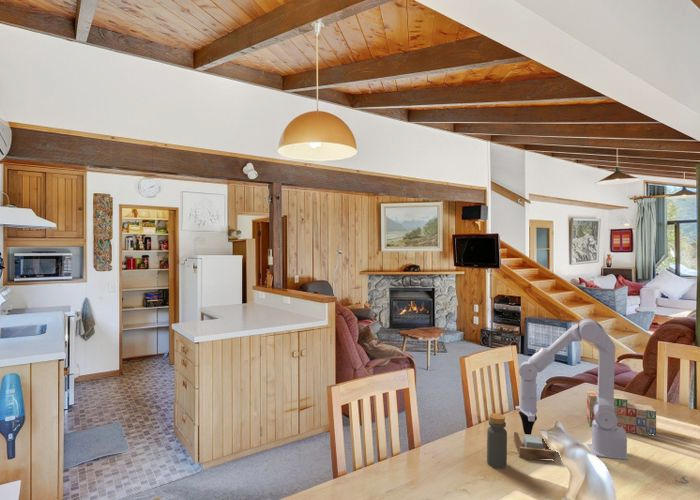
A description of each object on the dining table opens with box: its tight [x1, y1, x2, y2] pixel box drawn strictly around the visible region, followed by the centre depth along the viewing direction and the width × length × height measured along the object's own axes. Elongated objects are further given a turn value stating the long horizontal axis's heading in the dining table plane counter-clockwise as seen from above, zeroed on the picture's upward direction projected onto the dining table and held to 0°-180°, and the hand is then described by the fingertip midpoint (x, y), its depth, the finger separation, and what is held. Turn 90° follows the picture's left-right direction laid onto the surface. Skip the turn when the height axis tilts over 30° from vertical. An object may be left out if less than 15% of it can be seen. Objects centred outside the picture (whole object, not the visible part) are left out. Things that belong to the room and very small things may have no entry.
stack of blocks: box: [586, 390, 657, 436], centre depth 158 cm, size 21×6×12 cm, turn 68°
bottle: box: [486, 412, 508, 470], centre depth 130 cm, size 6×6×15 cm
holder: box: [513, 431, 556, 460], centre depth 139 cm, size 10×12×3 cm
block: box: [523, 434, 544, 449], centre depth 139 cm, size 5×5×4 cm
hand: (527, 433), depth 149 cm, fingers closed
